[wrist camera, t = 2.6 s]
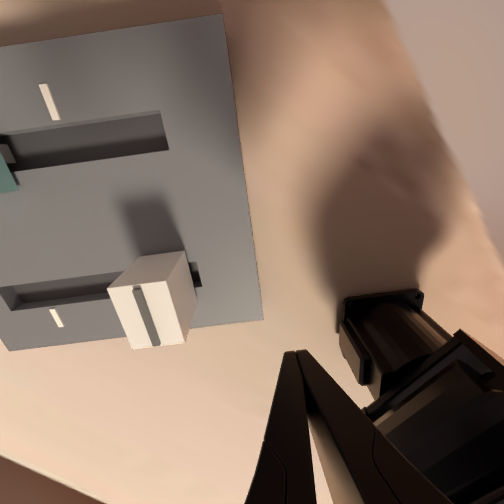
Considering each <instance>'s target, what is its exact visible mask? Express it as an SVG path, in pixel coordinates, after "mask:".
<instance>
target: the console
mask: <svg viewBox="0 0 504 504" xmlns="http://www.w3.org/2000/svg"><path fill="white" fill-rule="evenodd" d="M0 144H8V147H9V149H10V151H11V153H12V155H13V157H14V159H15V161H16V163H11V164H6V165H7V167H8V169H9V171H10V173H11V175H12V177H13V179H14V181H15V183H16V185H17V187H18V189H19V190H17V191H11V192H5V193H0V339H1V340H2V342H3V343H4V345H5V346H6V348H7V349H8V350H9V351H16V350H24V349H32V348H40V347H48V346H56V345H64V344H72V343H80V342H88V341H96V340H104V339H112V338H120V337H127V336H126V333H125V331H124V329H123V326H122V324H121V321H120V319H119V317H118V314H117V312H116V310H115V307H114V305H113V302H112V300H111V298H110V295H109V293H108V291H107V288H108V287H109V286H110V285H111V284H112V283H113V282H114V281H115V280H116V279H117V278H118V277H119V276H120V275H121V274H122V273H123V272H124V271H125V270H126V269H127V268H128V267H129V266H130V265H131V264H132V263H133V262H134V261H135V260H136V259H137V258H138V257H139V256H147V255H155V254H162V253H170V252H177V251H185V254H186V258H187V262H188V265H189V269H190V273H191V276H192V281H193V285H194V289H195V293H196V297H197V301H198V303H197V306H196V309H195V312H194V315H193V319H192V322H191V325H190V328H189V329H193V328H201V327H209V326H217V325H225V324H233V323H241V322H249V321H257V320H264V318H263V310H262V302H261V294H260V287H259V279H258V272H257V264H256V257H255V249H254V242H253V235H252V227H251V220H250V212H249V205H248V197H247V190H246V182H245V175H244V167H243V160H242V152H241V145H240V138H239V130H238V123H237V115H236V108H235V100H234V93H233V85H232V78H231V70H230V63H229V56H228V48H227V41H226V33H225V27H224V20H223V14H222V13H221V14H214V15H208V16H201V17H195V18H188V19H181V20H175V21H168V22H162V23H155V24H148V25H142V26H135V27H129V28H122V29H115V30H109V31H102V32H95V33H89V34H82V35H76V36H69V37H62V38H56V39H49V40H43V41H36V42H29V43H23V44H16V45H10V46H3V47H0Z"/></svg>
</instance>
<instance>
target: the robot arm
mask: <svg viewBox="0 0 504 504" xmlns="http://www.w3.org/2000/svg"><path fill="white" fill-rule="evenodd" d="M416 295H417V296H416ZM423 299H424V293H423V292H422V291H420V290H419V289H411V290H403V291H395V292H387V293H379V294H371V295H363V296H355V297H348V298H346V299H345V300H344V301H343V318H342V321H341V323H340V331H339V345H340V348H341V350H342V355H343V357H344V358H345V359H346V360H347V362H348V364H349V366H350V368H351V370H352V372H353V374H354V376H355V378H356V380H357V382H358V383H359V384H360V385H361V386H366V385H367V387H368V389H369V391H370V393H371V395H372V396H373V398H374V400H375V401H374V402H372V403H371V404H370V405H369V406H367V407H364V408H363V409H360V408H359V407H358V406H357V405H356V404H355V403H354V402H353V400H352V399H351V398H350V397H349V396H348V395H347V394H346V393H345V392H344V390H343V389H342V388H341V387H340V386H339V385H338V384H337V383H336V382H335V381H334V379H333V378H332V377H331V376H330V375H329V374H328V373H327V372H326V371H325V369H324V368H323V367H322V366H321V365H320V364H319V363H318V362H317V361H316V360H315V358H314V357H313V356H312V355H311V354H310V353H309V352H308V351H307V350H305V349H304V350H297V351H296V352H295V351H287V352H285V353H284V356H283V360H282V364H281V368H280V372H279V376H278V381H277V385H276V389H275V393H274V397H273V402H272V406H271V410H270V414H269V418H268V423H267V427H266V431H265V435H264V441H263V443H262V447H261V451H260V455H259V459H258V463H257V466H256V470H255V474H254V477H253V480H252V483H251V486H250V489H249V492H248V495H247V498H246V500H245V503H244V504H317V501H316V492H315V482H314V473H313V464H312V454H311V445H310V436H309V427H310V430H311V433H312V436H313V440H314V443H315V446H316V449H317V452H318V456H319V459H320V462H321V465H322V468H323V472H324V475H325V478H326V481H327V484H328V487H329V491H330V494H331V497H332V500H333V503H334V504H504V359H503V358H501V357H500V356H498V355H497V354H495V353H494V352H493V351H491V350H490V349H488V348H487V347H485V346H484V345H483V344H481V343H480V342H478V341H477V340H476V339H474V338H473V337H471V336H470V335H468V334H467V333H466V332H464V331H463V330H461V329H459V330H458V331H457V332H456V333H454V334H453V335H454V337H452V336H451V335H450V334H449V333H447V332H446V331H445V330H444V329H443V328H442V327H441V326H439V325H438V324H437V323H436V322H435V321H434V320H433V319H432V318H430V317H429V316H428V315H427V314H426V313H425V312H424V311H422V305H423ZM349 303H351V304H350V305H348V304H349ZM308 424H309V426H308Z"/></svg>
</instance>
